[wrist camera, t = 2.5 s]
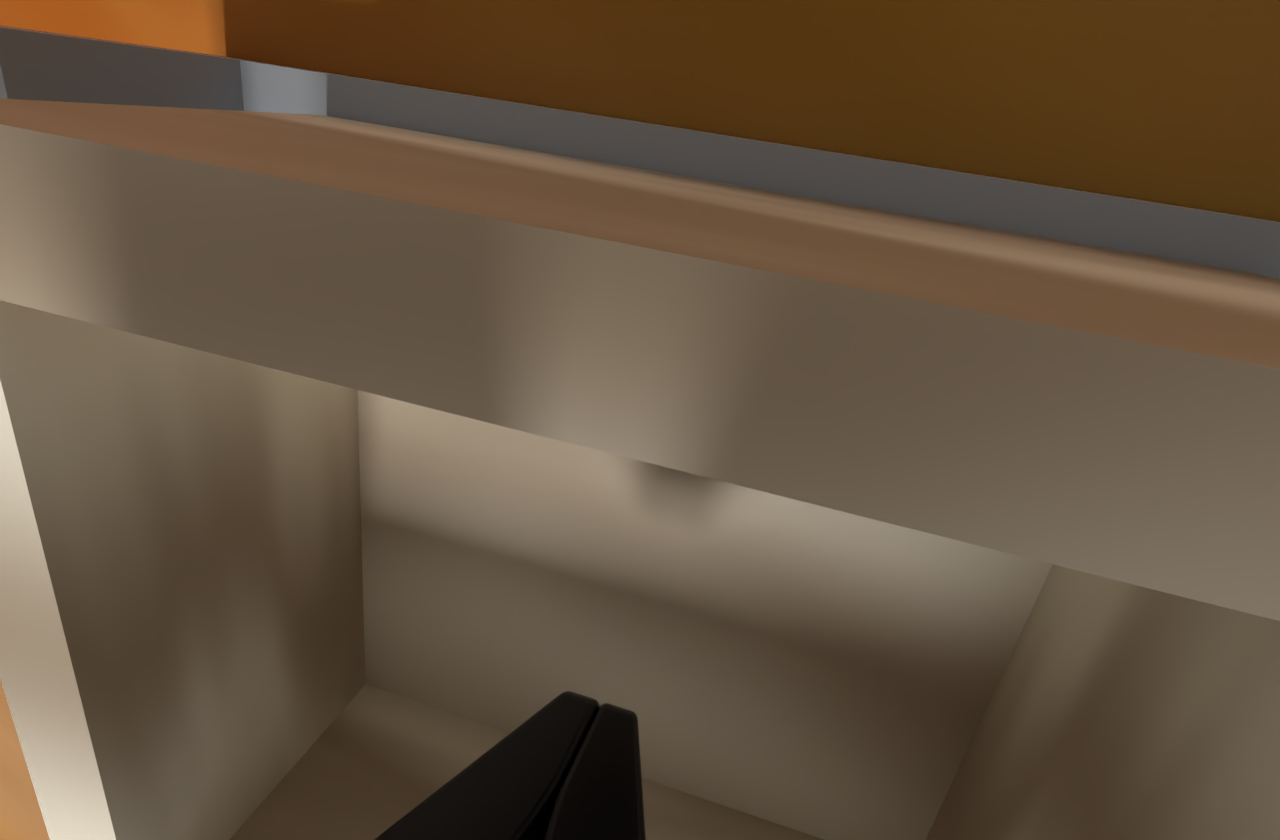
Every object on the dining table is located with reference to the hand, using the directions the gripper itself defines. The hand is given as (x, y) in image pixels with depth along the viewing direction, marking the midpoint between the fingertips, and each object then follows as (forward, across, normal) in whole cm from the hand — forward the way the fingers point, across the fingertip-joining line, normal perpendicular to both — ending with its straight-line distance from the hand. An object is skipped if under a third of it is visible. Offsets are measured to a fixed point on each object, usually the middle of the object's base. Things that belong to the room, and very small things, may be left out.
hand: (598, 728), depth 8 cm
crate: (+3, 0, -1) cm, 3 cm away
